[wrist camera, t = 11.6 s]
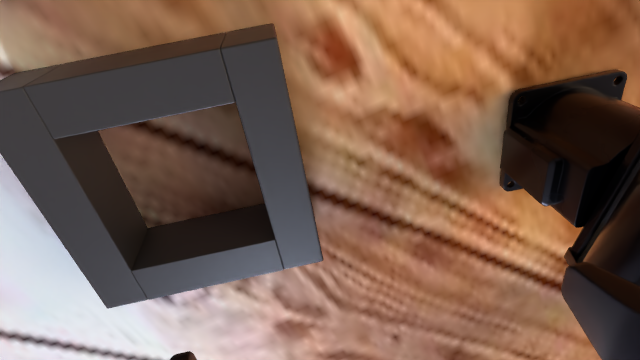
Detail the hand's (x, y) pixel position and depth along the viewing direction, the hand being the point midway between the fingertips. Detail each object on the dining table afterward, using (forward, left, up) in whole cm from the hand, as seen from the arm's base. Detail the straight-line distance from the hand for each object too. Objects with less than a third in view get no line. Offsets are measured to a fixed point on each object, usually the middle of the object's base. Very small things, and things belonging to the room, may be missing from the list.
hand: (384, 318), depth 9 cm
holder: (+7, +1, -13) cm, 15 cm away
